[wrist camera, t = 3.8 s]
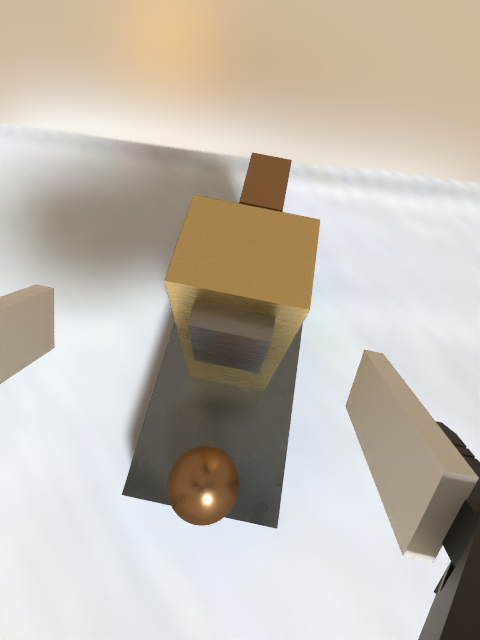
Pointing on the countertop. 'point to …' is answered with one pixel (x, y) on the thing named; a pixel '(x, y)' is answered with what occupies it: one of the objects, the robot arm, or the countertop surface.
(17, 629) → the countertop surface
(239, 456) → the hand plane
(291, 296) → the lever cap
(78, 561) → the countertop surface
